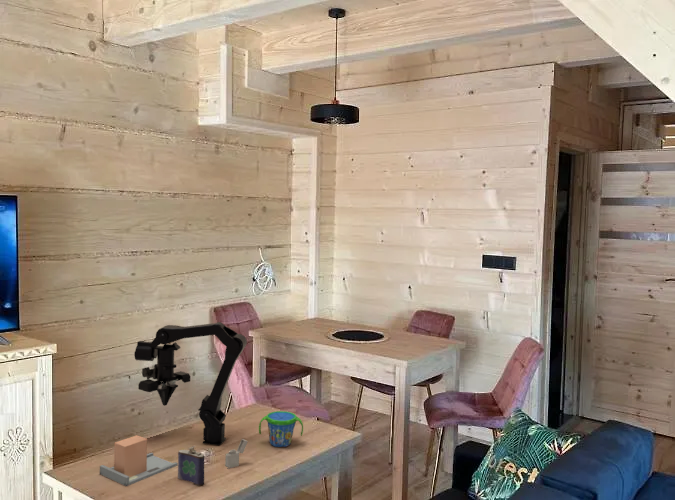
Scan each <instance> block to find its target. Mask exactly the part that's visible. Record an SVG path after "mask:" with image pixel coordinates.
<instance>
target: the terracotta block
mask: <svg viewBox="0 0 675 500" xmlns="http://www.w3.org/2000/svg"><path fill="white" fill-rule="evenodd" d="M113 452H114V453H113V455H114V456H113V463H114V464H113V467H114V470H115V471H118V472H120V473H122V474H124V475H127V476H129V478H130V477H132V476H135V475H137V474H140V473H142V472H145V471H147V454H148V438H145V437H143V436H139V435H137V434H136V435H133V436H131V437H128V438H124V439H121V440H118V441H115V442H114V451H113Z"/></svg>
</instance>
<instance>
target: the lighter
mask: <svg viewBox="0 0 675 500" xmlns="http://www.w3.org/2000/svg"><path fill="white" fill-rule="evenodd" d="M248 442H249V441H248V440H246V439H244V438H242V439H240V443H239V444H238V447H237V449H235V448H233V449H230V450H229V451H228V453H226V454H225V467H226V469H227V470H229V469H232V468H237V467H239V466H240V454H243V453H244V452H245V449H246V447H247V443H248Z"/></svg>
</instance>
